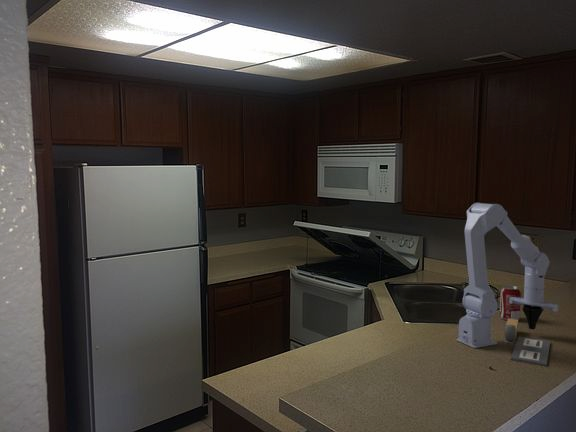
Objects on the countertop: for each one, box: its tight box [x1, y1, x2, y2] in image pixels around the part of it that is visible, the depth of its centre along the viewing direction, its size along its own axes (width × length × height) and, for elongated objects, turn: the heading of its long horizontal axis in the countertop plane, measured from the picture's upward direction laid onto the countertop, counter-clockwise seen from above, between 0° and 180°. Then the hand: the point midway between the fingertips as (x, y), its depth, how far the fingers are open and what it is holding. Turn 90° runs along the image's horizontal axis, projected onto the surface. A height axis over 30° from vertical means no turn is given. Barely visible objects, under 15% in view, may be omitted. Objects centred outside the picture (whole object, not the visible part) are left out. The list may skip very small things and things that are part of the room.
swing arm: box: [504, 318, 519, 341], centre depth 157 cm, size 14×3×4 cm, turn 151°
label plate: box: [502, 336, 551, 367], centre depth 144 cm, size 22×13×1 cm, turn 149°
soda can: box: [499, 285, 522, 321], centre depth 176 cm, size 7×7×12 cm
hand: (532, 328), depth 157 cm, fingers closed
